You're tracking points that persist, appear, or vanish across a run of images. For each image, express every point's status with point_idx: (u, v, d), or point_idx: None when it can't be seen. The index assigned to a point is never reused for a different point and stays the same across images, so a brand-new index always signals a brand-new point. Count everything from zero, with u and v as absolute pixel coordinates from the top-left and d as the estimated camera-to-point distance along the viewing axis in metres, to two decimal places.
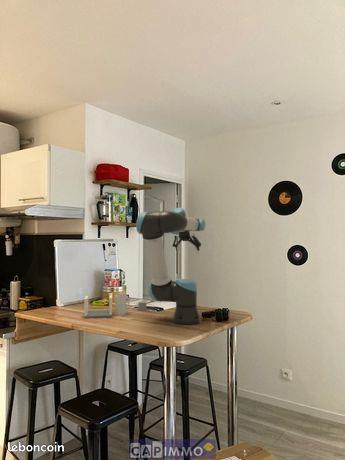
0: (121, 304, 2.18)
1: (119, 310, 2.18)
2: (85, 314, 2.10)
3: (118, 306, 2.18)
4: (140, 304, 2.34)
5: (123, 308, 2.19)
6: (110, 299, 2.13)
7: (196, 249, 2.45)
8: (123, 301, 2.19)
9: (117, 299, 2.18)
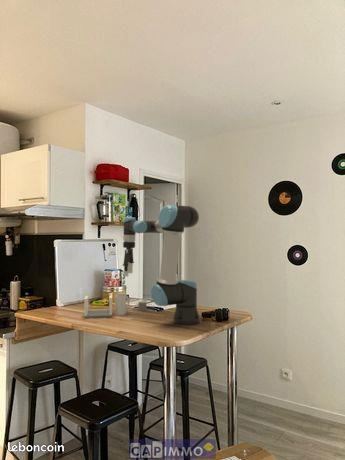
0: (121, 304, 2.18)
1: (119, 310, 2.18)
2: (85, 314, 2.10)
3: (118, 306, 2.18)
4: (140, 304, 2.34)
5: (123, 308, 2.19)
6: (110, 299, 2.13)
7: (132, 265, 2.35)
8: (123, 301, 2.19)
9: (117, 299, 2.18)
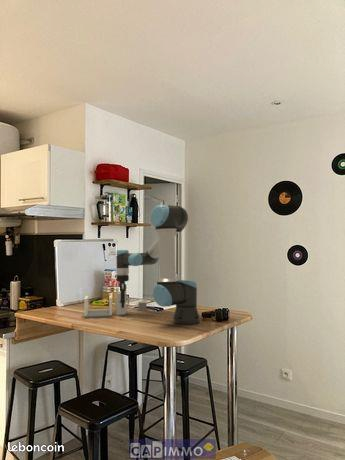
0: None
1: (119, 310, 2.18)
2: (85, 314, 2.10)
3: (118, 306, 2.18)
4: (140, 304, 2.34)
5: None
6: (110, 299, 2.13)
7: None
8: None
9: (117, 299, 2.19)
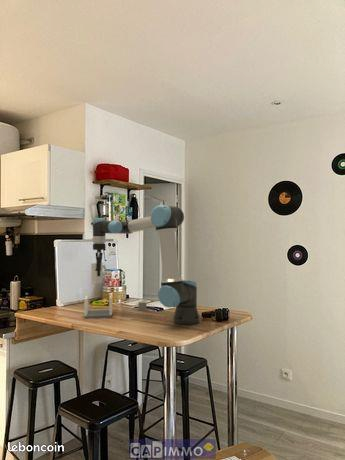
0: None
1: (95, 278, 2.15)
2: (85, 314, 2.10)
3: (94, 274, 2.15)
4: (140, 304, 2.34)
5: None
6: (110, 299, 2.13)
7: None
8: None
9: (93, 267, 2.16)
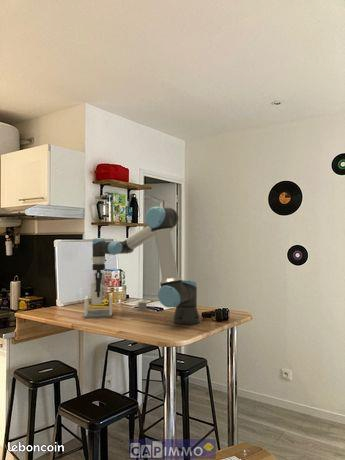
0: None
1: (95, 299, 2.15)
2: (85, 314, 2.10)
3: (94, 295, 2.15)
4: (140, 304, 2.34)
5: None
6: (110, 299, 2.13)
7: None
8: None
9: (93, 288, 2.15)
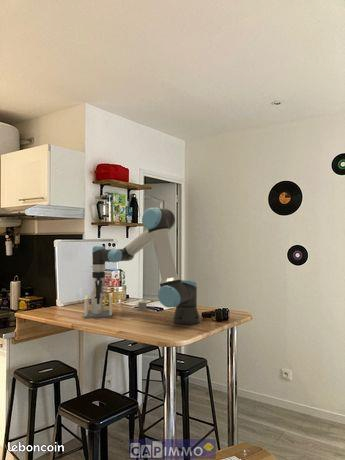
0: None
1: (95, 308, 2.15)
2: (85, 314, 2.10)
3: (94, 304, 2.15)
4: (140, 304, 2.34)
5: None
6: (110, 299, 2.13)
7: None
8: None
9: (93, 297, 2.16)
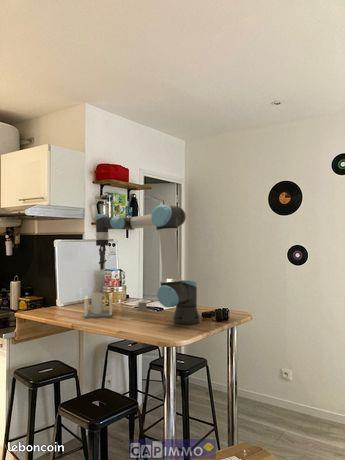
0: (96, 302, 2.15)
1: (95, 308, 2.15)
2: (85, 314, 2.10)
3: (94, 304, 2.15)
4: (140, 304, 2.34)
5: (99, 306, 2.16)
6: (110, 299, 2.13)
7: (104, 264, 2.27)
8: (99, 299, 2.16)
9: (93, 297, 2.16)
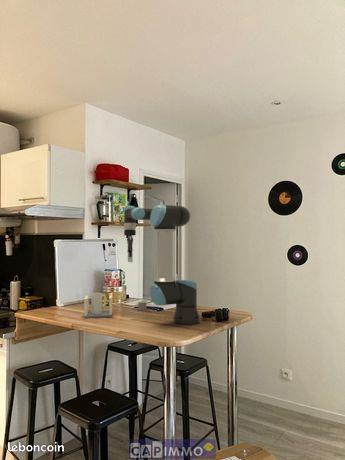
0: (96, 302, 2.15)
1: (95, 308, 2.15)
2: (85, 314, 2.10)
3: (94, 304, 2.15)
4: (140, 304, 2.34)
5: (99, 306, 2.16)
6: (110, 299, 2.13)
7: None
8: (99, 299, 2.16)
9: (93, 297, 2.16)
